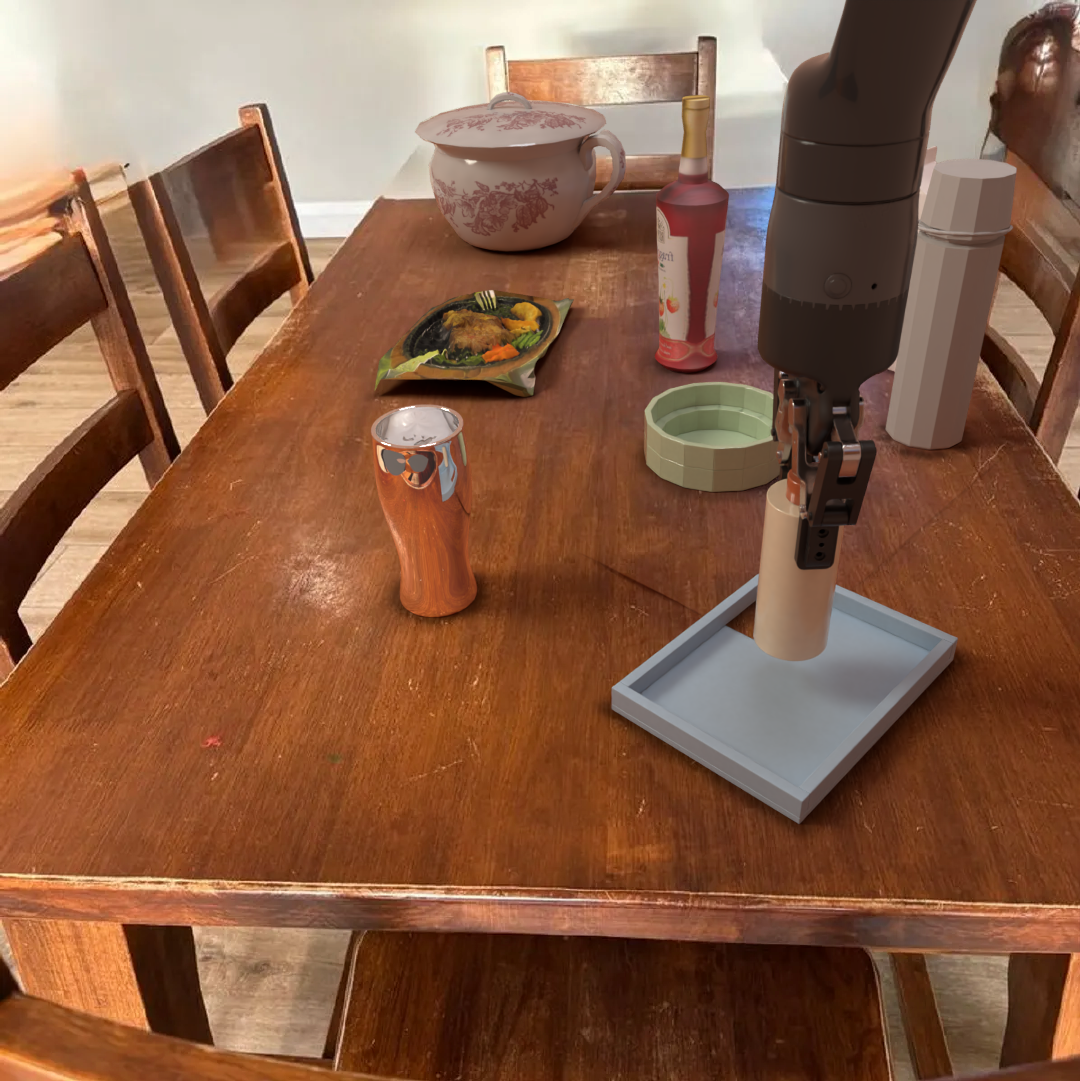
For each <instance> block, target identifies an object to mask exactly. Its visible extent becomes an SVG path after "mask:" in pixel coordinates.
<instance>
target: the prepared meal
mask: <svg viewBox="0 0 1080 1081" xmlns="http://www.w3.org/2000/svg"><path fill="white" fill-rule="evenodd" d="M574 301H575V299H574V298H572V299H570V298H569V297H566V298H563V299H560V300H553V299H551V298H546V297H541V296H535V295H527V294H521V293H515V292H510V291H509V292H508V291H503V290H498V289H497V290H495V289H489V290H482V291H478V292H477V291H474V292H473V293H466V294H463V295H459V296H455V297H452V298H449V299H447V300H445V301H444V302H442V303H441V304H438V305H436V306H432V307H431V308H430V309H428V311H427V312H425V313H424V314H423V315H421V317H420V318H419V319H418V320H417V321H416V322H415V323H413V325H412V326H411V327H410V328H409V329H408V330H407V331H406V332H405V333H404V334H403V335H402V337H400V338H399V339H398V340H397V341H396V343H395V345H394V346H392V347H390V348H389V350H387V352H386V353H384V355H383V356H381V357H380V359H378V367H377V372H376V379H375V385H374V391H373V392H375V391H376V389H377V388H378V385H379V383H380V382H381V381H382V380H439V381H448V380H450V381H462V380H465V381H467V380H468V381H469V380H470V381H471V380H472V381H485V382H488V383H490V384H492V385H493V386H496V387H498V388H500V389H502V390H504V391H506V392H508V393H510V394H512V395H514V396H516V397H522V398H527V397H531V396H534V390H535V384H536V375H535V367H536V363H537V361H538V360H539V359H541V358H543V357H544V356H545V355H546V353H547V351H548V349H549V347H550V345H551V344H552V343H553V342H554V341H555V340H556V339H557V337H558V335H559V333H560V332H561V329H562V326H563V323H564V322H565V319H566V317H567V315H568V313H569V311H570V308H571V307H572V305H573V303H574Z"/></svg>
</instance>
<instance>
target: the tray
mask: <svg viewBox="0 0 1080 1081" xmlns="http://www.w3.org/2000/svg"><path fill="white" fill-rule="evenodd" d="M758 578H759V573H757V574H756V575H755V576H754V577H752V578H751V579H750V580H748V581H747V582H746V583H744V584H743V585H742V586H740V587H739V588H738V589H737V590H736V591H734V592H733V593H731V594H730V595H728V597H727V598H725V599H724V600H722V601H721V602H720V603H718V604H717V605H716V606H715V607H714V608H712V609H710V610H709V611H708V612H707V613H705V614H704V615H703V616H702V617H701V618H700V619H698V620H697V621H695V622H694V623H693V624H691V625H690V626H689V627H688V628H686V629H685V630H684V631H683V632H681V633H680V634H679V635H677V636H676V637H675V638H673V639H672V640H671V641H670V642H668V643H667V644H665V645H664V646H663V647H662V648H660V649H659V650H658V651H656V653H654V654H652V656H650V657H649V658H648V659H647V660H645V661H644V662H642V663H641V664H640V665H639V666H637V667H636V668H635V669H633V670H632V671H630V672H629V673H628V674H627V675H625V677H623V678H622V679H620V680H619V681H618V682H617V683H616V684H615V685H613V686H612V687H611V710H612V711H614V712H615V713H617V714H619V715H620V716H622V717H624V718H625V719H627V720H629V721H630V722H631V723H633V724H635V725H637V726H638V727H640V728H641V729H643V730H645V731H646V732H648V733H649V734H651V735H653V736H655V737H657V739H659V740H661V741H663V742H665V744H667V745H668V746H671V747H673V748H674V749H675V750H677V751H679V752H681V753H682V754H684V755H686V756H687V757H689V758H690V759H692V760H694V761H695V762H697V763H698V764H700V765H702V766H703V767H705V768H706V769H709V770H710V771H711V772H713V773H715V774H717V775H718V776H720V777H721V778H723V779H724V780H726V781H728V782H730V783H731V784H733V785H734V786H736V787H738V788H739V789H742V791H744V792H745V793H747V794H748V795H751V796H752V797H754V798H755V799H757V800H758V801H761V802H762V803H764V804H766V805H767V806H768V807H770V808H771V809H773V810H775V811H777V812H779V813H780V814H782V815H783V816H785V817H787V818H789V819H790V820H791V821H793V822H794V823H797V824H798V825H800V824H802V822H803V821H804V820H805V819H806V818H807V817H808V815H810V813H811V812H812V811H813V810H814V809H816V807H817V806H818V805H819V804H820V803H821V802H822V801H823V800H824V799H825V797H826V796H827V795H828V794H829V793H830V792H831V791H832V790H833V789H834V788H835V787H836V786H837V785H838V784H839V782H840V781H841V780H842V779H843V778H844V777H845V776H846V775H847V774H848V773H849V772H850V771H851V770H852V769H853V768H854V767H855V765H856V764H857V763H858V762H859V761H860V760H861V759H862V758H863V757H864V756H865V755H866V754H867V752H869V751H870V750H871V748H872V747H873V746H874V745H875V744H876V743H877V742H878V741H879V740H880V739H881V737H882V736H884V734H886V732H887V731H888V730H889V729H890V728H891V727H892V726H893V725H894V724H895V723H896V721H898V720H899V718H900V717H901V716H902V715H903V714H904V713H905V712H906V711H907V710H908V709H909V708H910V707H911V706H912V704H914V703H915V701H916V700H917V699H918V698H919V697H920V696H921V695H922V694H923V693H924V692H925V691H926V690H927V689H928V688H929V687H930V685H931V684H932V683H933V682H934V681H935V680H936V679H937V678H938V677H939V676H940V675H941V674H942V672H943V671H945V669H946V668H947V667H948V666H949V665H950V664H951V663H952V662H953V661H954V659H955V653H956V650H957V644H958V641H959V638H958V637H956V636H954V635H952V634H949V633H948V632H946V631H942V630H940V629H938V628H936V627H935V626H931V625H929V624H926V623H925V622H922V621H921V620H917V619H915V618H913V617H912V616H911V617H910V616H909V615H906V614H904V613H902V612H899V611H897V610H896V609H893V608H890V607H888V606H886V605H884V604H881V603H879V602H877V601H874V600H872V599H870V598H868V597H866V596H863V595H861V594H858V593H857V592H854V591H852V590H850V589H847V588H845V587H843V586H840V585H838V584H836V588H835V594H834V601H833V607H832V614H831V621H830V627H829V634H828V641H827V646H826V648H825V650H824V651H823V652H822V653H821V654H820V655H818V656H816V657H815V658H812V659H809V660H804V661H787V660H782V659H778V658H775V657H773V656H770V655H768V654H767V653H765V652H764V651H762V650H761V649H760V648H759V647H758V646H757V644H756V642H755V640H754V638H753V637H750V636H749V635H747V634H744V633H742V632H740V631H738V630H736V629H734V628H732V627H730V626H728V625H727V624H729V623H730V622H731V621H732V620H734V619H735V618H736V617H737V616H739V615H740V614H741V613H742V612H744V611H745V610H746V609H747V608H749V607H750V606H751V605H752V604H754V603H756V599H757V589H758Z"/></svg>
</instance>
